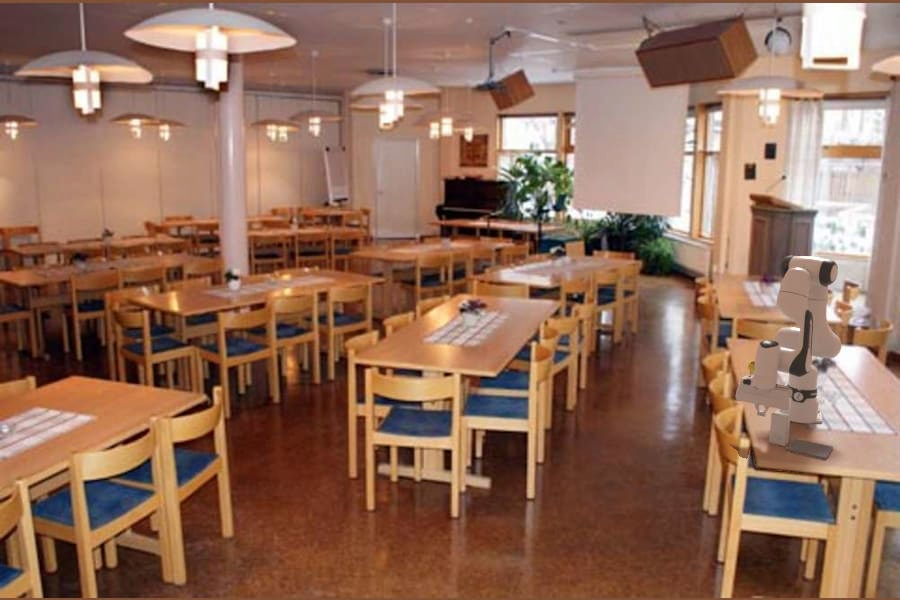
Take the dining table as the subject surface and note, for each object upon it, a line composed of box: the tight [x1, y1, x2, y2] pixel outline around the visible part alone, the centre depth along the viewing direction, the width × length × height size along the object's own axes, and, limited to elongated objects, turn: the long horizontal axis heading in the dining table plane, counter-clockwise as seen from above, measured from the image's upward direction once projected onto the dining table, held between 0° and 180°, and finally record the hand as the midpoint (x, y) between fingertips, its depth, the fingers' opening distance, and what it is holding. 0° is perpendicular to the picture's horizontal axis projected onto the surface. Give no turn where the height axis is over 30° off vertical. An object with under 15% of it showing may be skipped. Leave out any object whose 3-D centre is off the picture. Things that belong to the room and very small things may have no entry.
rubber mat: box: [785, 437, 834, 461], centre depth 299 cm, size 14×14×1 cm
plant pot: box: [747, 360, 755, 375], centre depth 386 cm, size 10×10×10 cm
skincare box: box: [768, 410, 791, 447], centre depth 305 cm, size 6×4×12 cm
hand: (761, 415), depth 308 cm, fingers closed
